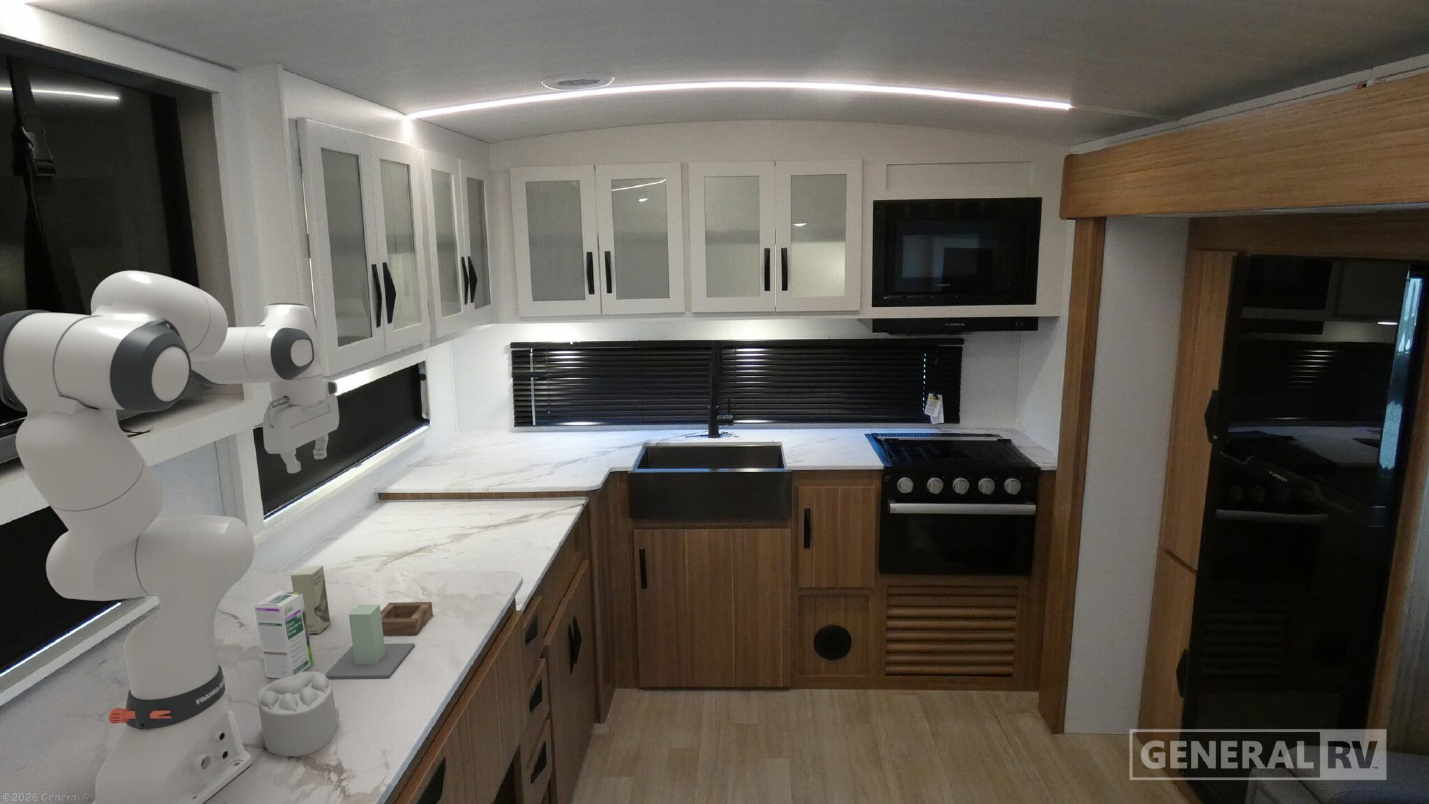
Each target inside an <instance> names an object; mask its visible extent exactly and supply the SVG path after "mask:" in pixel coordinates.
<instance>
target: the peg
mask: <svg viewBox="0 0 1429 804" xmlns="http://www.w3.org/2000/svg"><path fill="white" fill-rule="evenodd" d="M381 611H382V610H381V606H380V604H358V605H357V606H356V607H355V608H354V609H353V610H352V611H351V612H349V614H348V619H349V626H350V635H351V642H352V644H351V645H352V646H353V652H354V660H355V665H374V664H377V663H378V662H379V661H380V660H381V658H382V657H383V656H384V655H385V645H384V644H385V637H384V636H383V628H382V620H381Z"/></svg>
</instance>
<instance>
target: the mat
mask: <svg viewBox="0 0 1429 804" xmlns="http://www.w3.org/2000/svg"><path fill="white" fill-rule="evenodd" d="M384 645H385V655H384V656H383V657H382V658H381V660H380V661H379V662H378V663H377V664H374V665H355V660H354V652H353V645H352V646H351V647H349V649H348V650H347V651H346V652H345V653H343V655H342V656H341V657H340V658H339V659H338V660H337V661H336V662H335V663H334V665H332V666H331V667H330V669H329V670H328V671H326V673H325V674H324V675H325V676H326V677H327V678H328V679H329V680H347V679H348V680H353V679H356V680H358V679H362V680H363V679H365V680H366V679H367V680H368V679H390V678H391V677H392V675H393V674H394V673H395V672H396V671H397V669H398V668H399V667H400V666H401V665H402V663H403V662H404V660H406V658H407V657H408V656H409V655H410V653H411V652H412V650H414V649H415V647H416V643H414V642H413V643H412V642H411V643H410V642H409V643H384Z"/></svg>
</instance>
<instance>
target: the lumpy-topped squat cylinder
mask: <svg viewBox="0 0 1429 804" xmlns="http://www.w3.org/2000/svg"><path fill="white" fill-rule="evenodd" d="M257 702H258V708H259V709H258V710H259V714H260V723H261V728H262V735H263V741H264V742H263V743H264V745H265V748H266V749H267V750H268V752H270V753H272V754H274V755H277V756H280V755H282V756H281V757H287V756H288V758H290V757H289V756H294V757H302V755H303V756H307V755H310V754H312V753H315V752H317V751H319V750H321V749H322V748H323V747H325V746H326V745H327V744H329V743H330V742H331V741H332V739H333V738H334V736H335V734H336V733H337V731H338V720H337V712H336V705H335V698H334V689H333V685H332V683H331V681H330V679H328V678H327V677H326V676H325V674H324V673H323V672H320V671H303V672H301V673H298V674H295V675H293V676H290V677H285V678H281V679H278V678H276V679H275V680H273V681H272V682H270V683H268V684H266V685H264V686H263V687H262V688H261V689H260V690H259V691H258V693H257Z"/></svg>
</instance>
